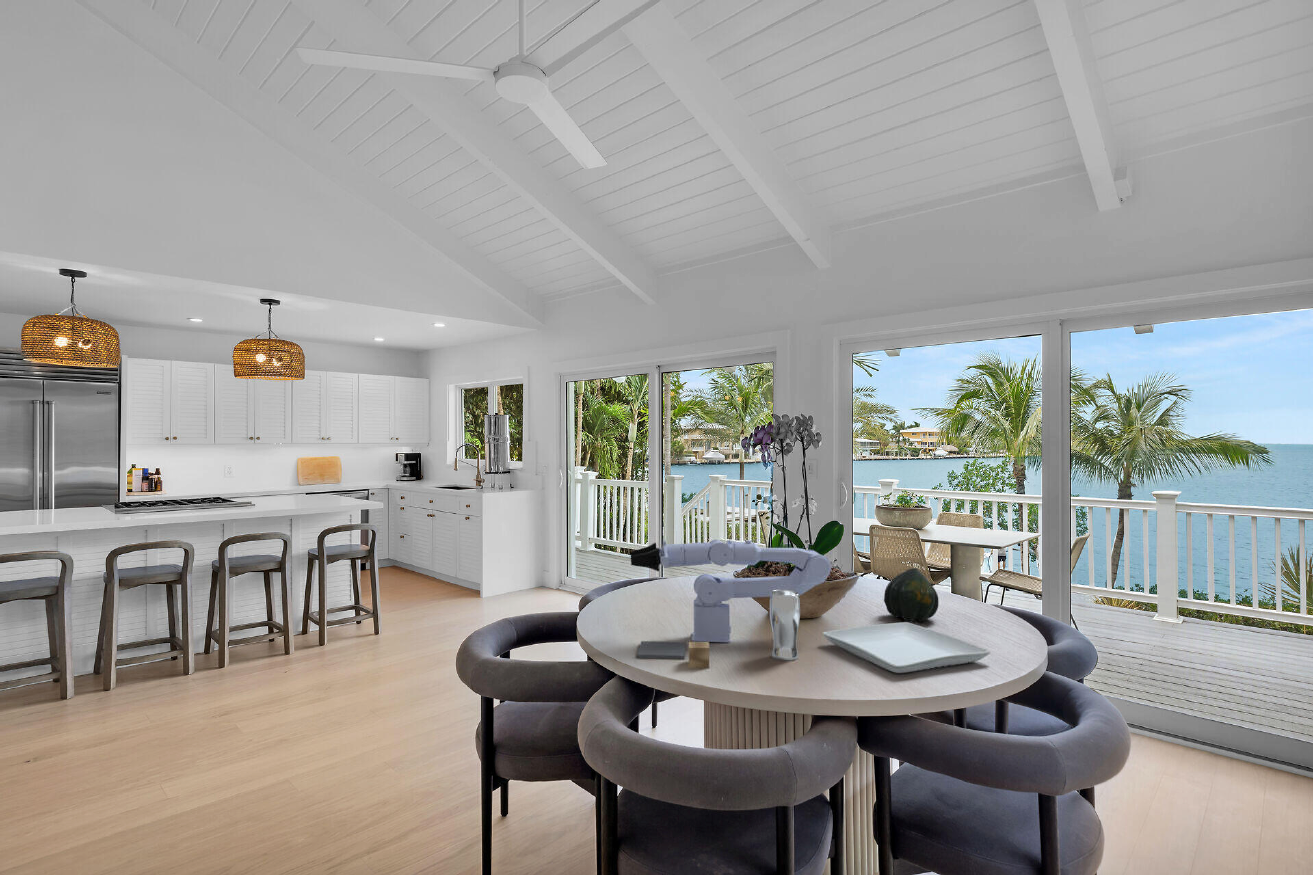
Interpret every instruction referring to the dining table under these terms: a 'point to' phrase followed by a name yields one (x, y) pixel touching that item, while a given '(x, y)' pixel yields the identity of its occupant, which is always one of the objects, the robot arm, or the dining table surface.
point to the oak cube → (698, 654)
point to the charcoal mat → (661, 650)
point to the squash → (911, 596)
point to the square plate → (905, 646)
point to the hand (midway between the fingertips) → (630, 558)
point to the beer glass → (784, 623)
